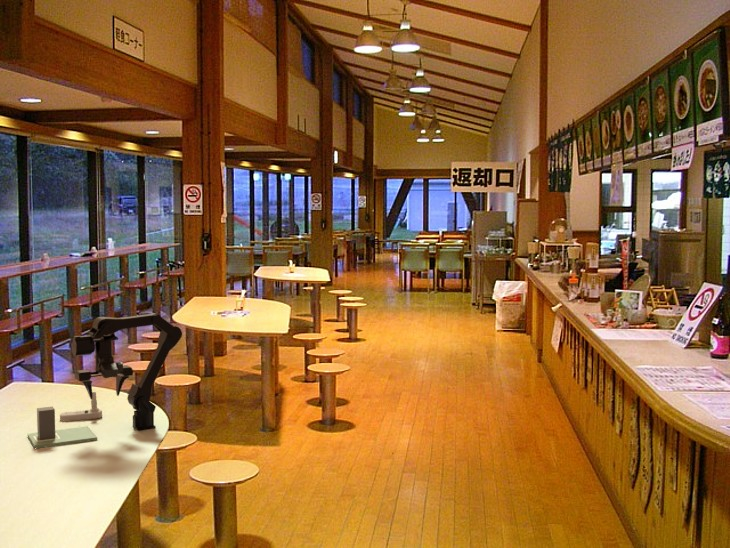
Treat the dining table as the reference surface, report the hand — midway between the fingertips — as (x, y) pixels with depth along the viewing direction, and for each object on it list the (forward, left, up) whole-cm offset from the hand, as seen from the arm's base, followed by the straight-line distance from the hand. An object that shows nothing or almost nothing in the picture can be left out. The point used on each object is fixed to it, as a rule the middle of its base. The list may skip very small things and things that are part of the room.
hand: (104, 397), depth 278 cm
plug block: (+19, -3, -12) cm, 23 cm away
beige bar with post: (+1, -26, -14) cm, 29 cm away
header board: (+14, -3, -13) cm, 19 cm away
